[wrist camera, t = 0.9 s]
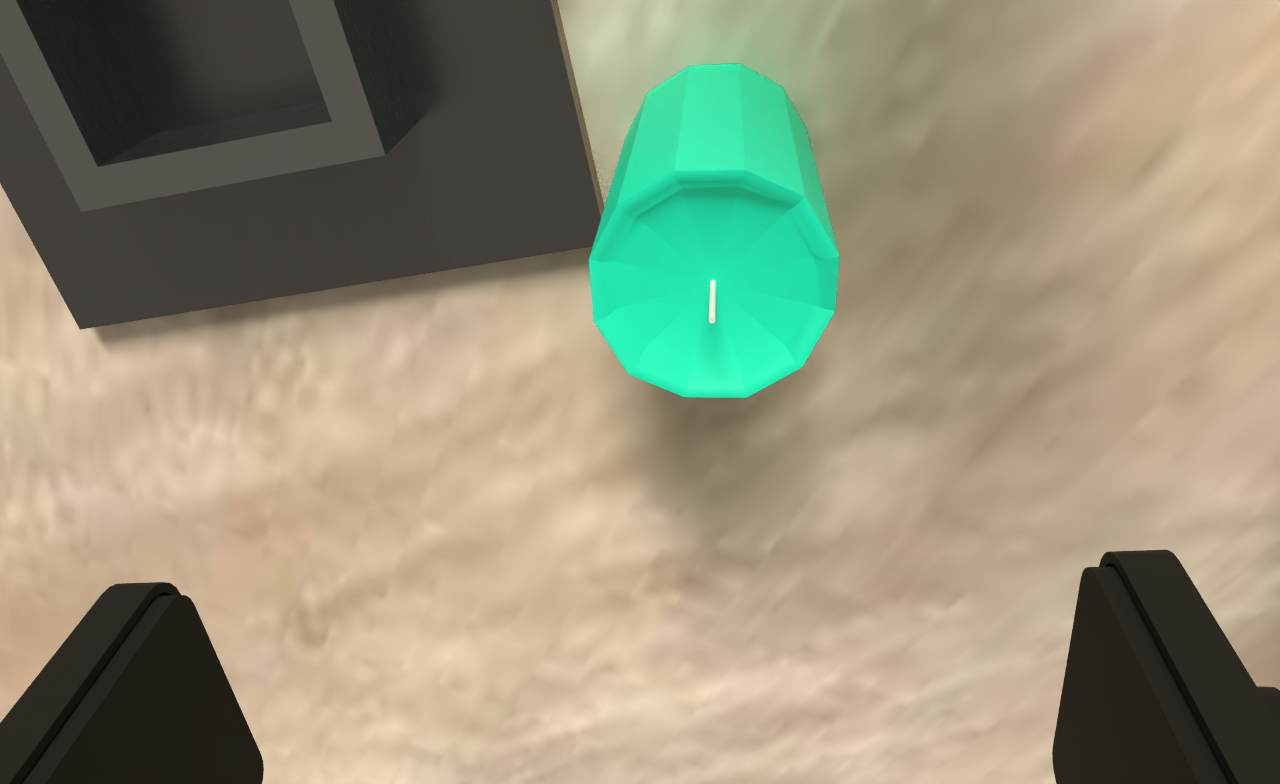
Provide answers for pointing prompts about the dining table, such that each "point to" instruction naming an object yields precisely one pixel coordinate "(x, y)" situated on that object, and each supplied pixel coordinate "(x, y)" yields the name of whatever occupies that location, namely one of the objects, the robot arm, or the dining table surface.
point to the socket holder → (285, 144)
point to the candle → (714, 238)
